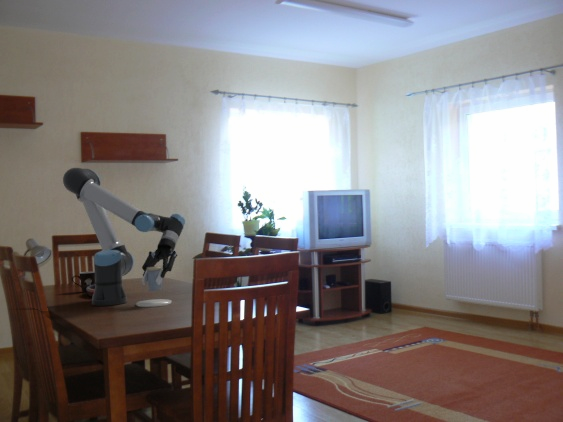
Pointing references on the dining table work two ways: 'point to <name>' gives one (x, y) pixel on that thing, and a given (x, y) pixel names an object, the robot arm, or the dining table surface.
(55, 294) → the dining table surface
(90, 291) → the dish
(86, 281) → the coffee mug
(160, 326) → the dining table surface
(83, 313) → the dining table surface
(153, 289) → the jar
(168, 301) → the plate
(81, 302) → the dining table surface
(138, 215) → the robot arm
